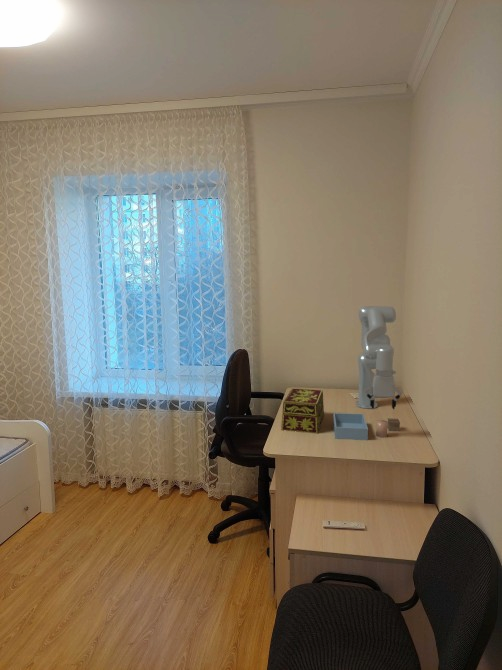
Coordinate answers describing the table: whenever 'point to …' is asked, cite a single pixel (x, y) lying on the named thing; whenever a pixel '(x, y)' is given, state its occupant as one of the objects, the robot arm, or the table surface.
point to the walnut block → (393, 424)
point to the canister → (381, 428)
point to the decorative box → (303, 411)
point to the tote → (350, 426)
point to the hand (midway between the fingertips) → (382, 408)
